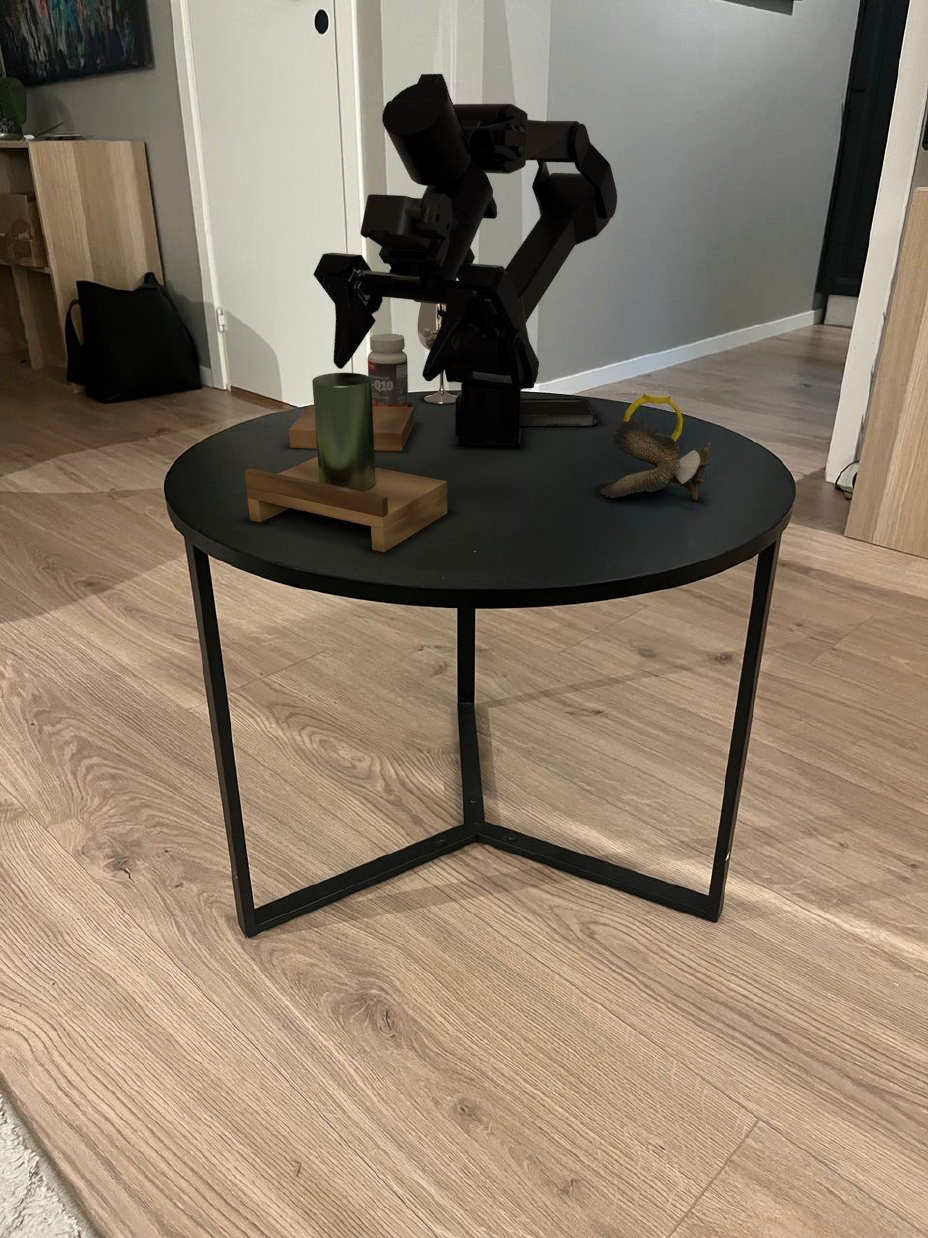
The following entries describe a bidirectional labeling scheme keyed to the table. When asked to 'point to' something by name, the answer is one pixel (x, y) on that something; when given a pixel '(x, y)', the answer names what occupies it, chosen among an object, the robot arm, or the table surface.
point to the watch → (658, 398)
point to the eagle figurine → (656, 461)
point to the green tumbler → (344, 430)
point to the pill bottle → (388, 370)
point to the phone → (557, 412)
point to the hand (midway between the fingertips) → (380, 372)
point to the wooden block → (387, 425)
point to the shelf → (351, 500)
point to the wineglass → (427, 332)
